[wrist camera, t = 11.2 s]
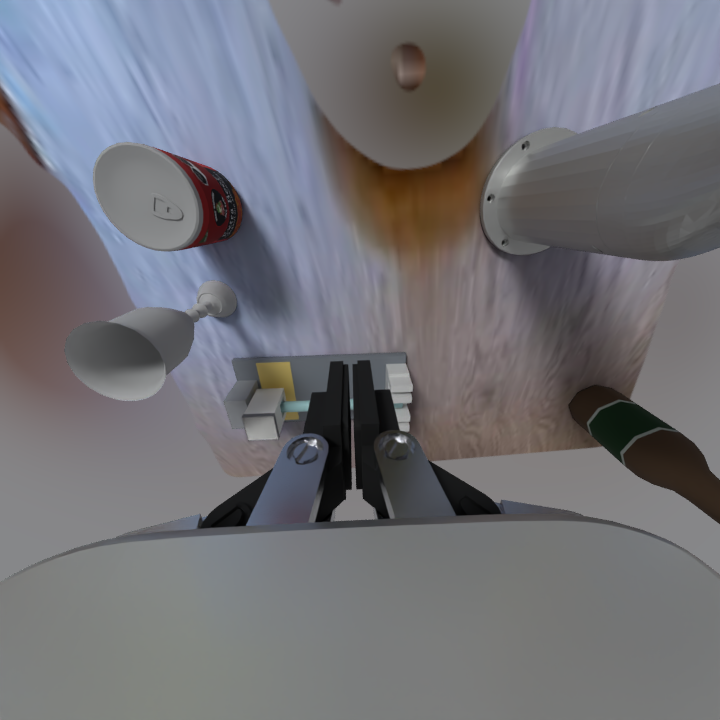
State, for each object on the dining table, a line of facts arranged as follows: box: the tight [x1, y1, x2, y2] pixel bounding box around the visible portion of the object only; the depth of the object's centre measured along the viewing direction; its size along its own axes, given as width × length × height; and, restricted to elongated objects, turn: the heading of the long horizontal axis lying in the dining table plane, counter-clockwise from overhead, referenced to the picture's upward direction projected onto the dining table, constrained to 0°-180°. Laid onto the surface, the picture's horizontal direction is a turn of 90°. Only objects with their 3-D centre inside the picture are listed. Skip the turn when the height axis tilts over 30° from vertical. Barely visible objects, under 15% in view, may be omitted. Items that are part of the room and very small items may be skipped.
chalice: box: [65, 280, 237, 401], centre depth 29 cm, size 7×7×18 cm
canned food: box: [93, 142, 242, 251], centre depth 27 cm, size 8×8×11 cm
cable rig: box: [223, 352, 413, 432], centre depth 41 cm, size 26×12×6 cm, turn 91°
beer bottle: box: [569, 385, 720, 524], centre depth 37 cm, size 8×8×24 cm
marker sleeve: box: [242, 388, 287, 441], centre depth 39 cm, size 4×4×6 cm
